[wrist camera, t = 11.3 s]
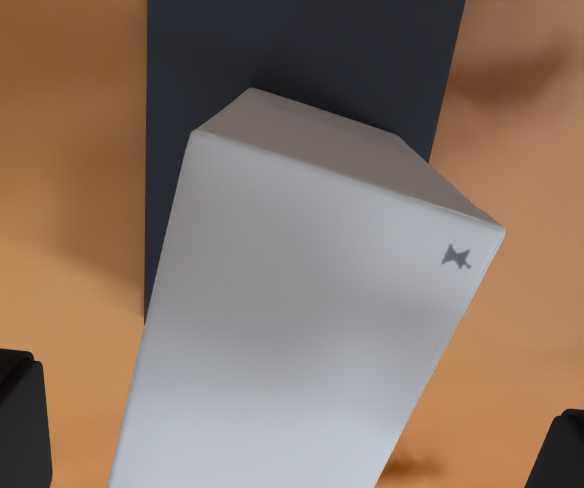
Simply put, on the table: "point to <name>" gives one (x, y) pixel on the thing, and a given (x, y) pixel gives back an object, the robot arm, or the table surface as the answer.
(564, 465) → the robot arm
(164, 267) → the cosmetics box
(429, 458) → the table surface
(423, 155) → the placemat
